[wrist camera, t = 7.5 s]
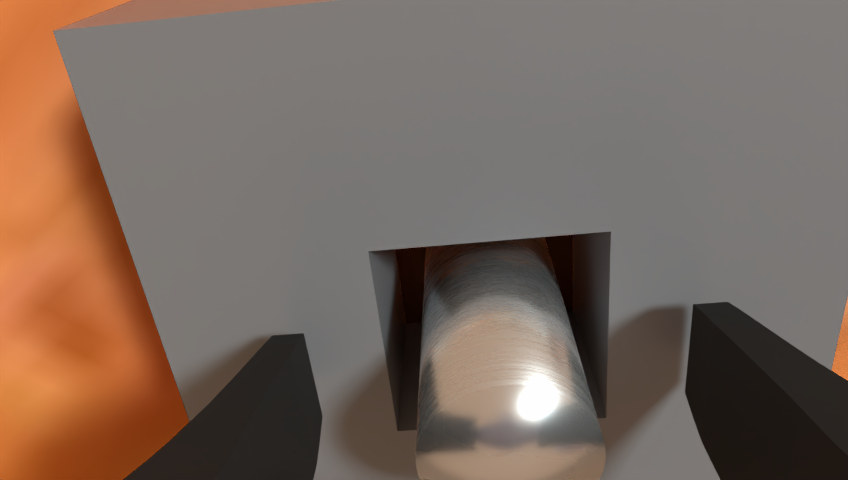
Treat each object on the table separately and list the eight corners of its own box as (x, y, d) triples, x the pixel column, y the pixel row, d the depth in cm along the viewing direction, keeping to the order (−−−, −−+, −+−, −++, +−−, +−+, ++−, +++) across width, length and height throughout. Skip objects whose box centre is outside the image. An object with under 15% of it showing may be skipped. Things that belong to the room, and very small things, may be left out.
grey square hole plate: (797, -78, 13) (925, -64, 10) (728, 427, 19) (792, 548, 16) (149, -7, 14) (52, 31, 11) (277, 455, 20) (243, 575, 17)
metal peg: (545, 191, 16) (609, 381, 10) (546, 297, 18) (602, 522, 11) (420, 200, 16) (406, 392, 10) (430, 304, 18) (424, 529, 12)
